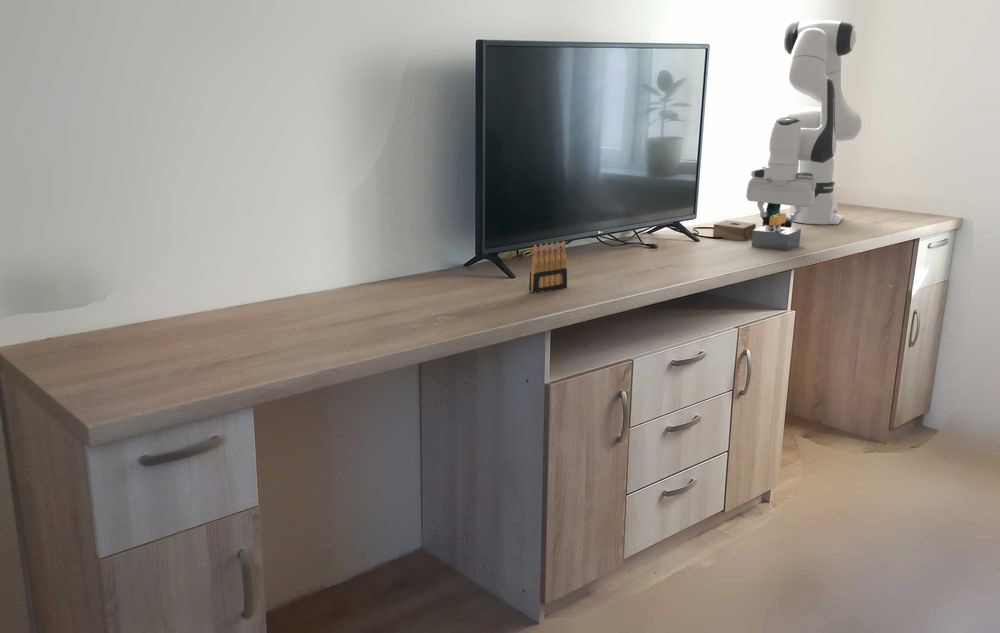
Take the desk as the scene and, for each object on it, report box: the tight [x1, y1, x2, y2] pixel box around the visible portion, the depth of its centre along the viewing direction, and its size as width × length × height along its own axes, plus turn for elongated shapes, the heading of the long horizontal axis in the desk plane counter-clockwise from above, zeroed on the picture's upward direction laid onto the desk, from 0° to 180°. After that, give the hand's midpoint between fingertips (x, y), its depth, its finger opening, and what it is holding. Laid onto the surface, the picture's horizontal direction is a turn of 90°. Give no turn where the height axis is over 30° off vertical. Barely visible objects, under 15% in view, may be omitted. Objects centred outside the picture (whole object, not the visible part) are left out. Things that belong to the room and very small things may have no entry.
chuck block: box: [751, 225, 802, 252], centre depth 291 cm, size 11×11×5 cm
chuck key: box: [769, 212, 788, 231], centre depth 291 cm, size 8×2×10 cm, turn 144°
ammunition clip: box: [528, 240, 568, 294], centre depth 234 cm, size 11×2×12 cm, turn 126°
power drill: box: [761, 171, 814, 228], centre depth 310 cm, size 7×16×20 cm, turn 89°
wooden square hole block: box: [712, 219, 757, 241], centre depth 305 cm, size 10×10×4 cm
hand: (778, 218), depth 290 cm, fingers open, 8 cm apart
